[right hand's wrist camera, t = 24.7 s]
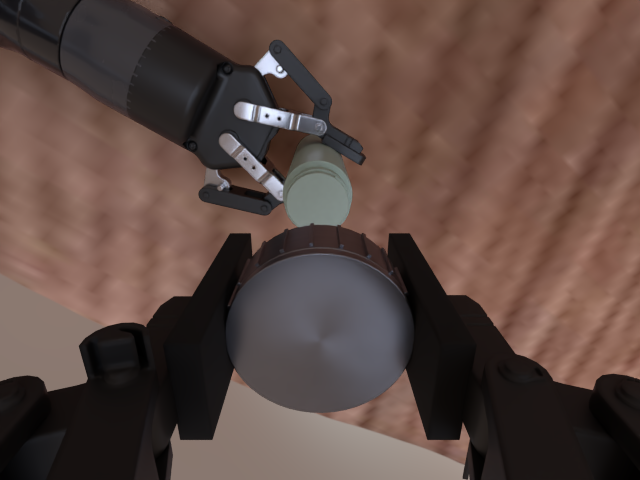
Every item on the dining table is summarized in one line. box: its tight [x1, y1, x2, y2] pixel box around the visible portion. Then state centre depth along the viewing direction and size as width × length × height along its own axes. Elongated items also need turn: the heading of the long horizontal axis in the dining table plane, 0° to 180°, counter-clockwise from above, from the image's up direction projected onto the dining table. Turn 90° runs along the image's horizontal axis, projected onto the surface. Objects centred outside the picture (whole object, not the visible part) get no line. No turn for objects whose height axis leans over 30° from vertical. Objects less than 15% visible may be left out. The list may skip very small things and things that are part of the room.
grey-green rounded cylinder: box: [283, 134, 352, 227], centre depth 30 cm, size 4×4×16 cm
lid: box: [225, 223, 415, 413], centre depth 11 cm, size 5×5×2 cm
